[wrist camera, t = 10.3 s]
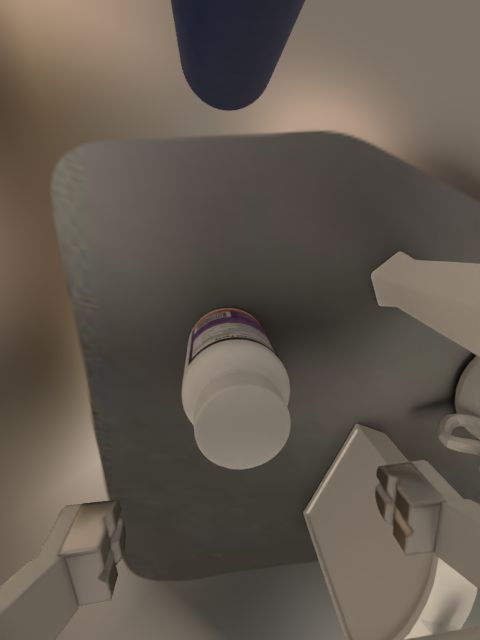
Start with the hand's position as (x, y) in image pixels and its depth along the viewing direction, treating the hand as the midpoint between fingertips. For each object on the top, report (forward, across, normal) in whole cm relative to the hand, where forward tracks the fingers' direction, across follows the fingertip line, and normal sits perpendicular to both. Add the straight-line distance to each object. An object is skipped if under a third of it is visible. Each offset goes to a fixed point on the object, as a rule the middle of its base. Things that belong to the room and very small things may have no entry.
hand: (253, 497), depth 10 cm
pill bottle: (+13, 0, 0) cm, 13 cm away
